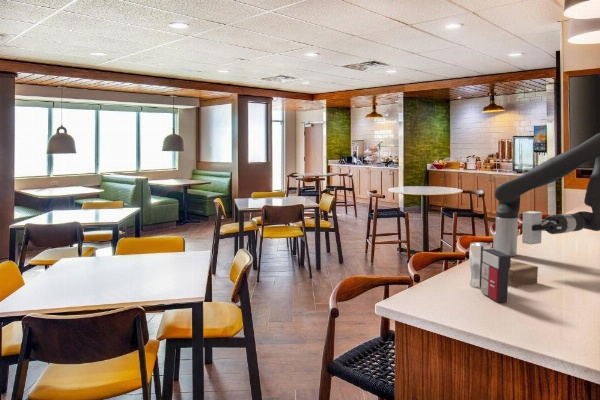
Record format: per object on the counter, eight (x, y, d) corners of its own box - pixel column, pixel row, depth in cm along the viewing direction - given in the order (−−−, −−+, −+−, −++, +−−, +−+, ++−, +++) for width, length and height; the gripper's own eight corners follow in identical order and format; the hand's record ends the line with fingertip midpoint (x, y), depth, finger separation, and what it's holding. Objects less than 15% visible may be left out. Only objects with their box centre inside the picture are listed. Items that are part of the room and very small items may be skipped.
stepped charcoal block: (479, 292, 155) (480, 249, 154) (491, 292, 156) (493, 248, 154) (496, 303, 144) (497, 256, 143) (509, 302, 145) (511, 255, 143)
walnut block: (486, 279, 172) (486, 263, 171) (509, 275, 177) (509, 259, 176) (513, 287, 161) (514, 270, 160) (537, 283, 166) (537, 266, 165)
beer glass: (488, 283, 165) (490, 242, 164) (490, 289, 159) (491, 246, 157) (468, 282, 168) (469, 241, 166) (468, 287, 161) (469, 245, 160)
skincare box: (531, 245, 174) (533, 213, 173) (521, 243, 178) (522, 211, 177) (541, 243, 177) (543, 211, 176) (531, 241, 181) (532, 210, 180)
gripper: (545, 212, 188) (512, 214, 182) (577, 216, 175) (542, 219, 169) (544, 230, 189) (511, 233, 183) (576, 236, 175) (542, 239, 170)
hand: (526, 226), depth 176 cm, fingers closed on skincare box, 4 cm apart
